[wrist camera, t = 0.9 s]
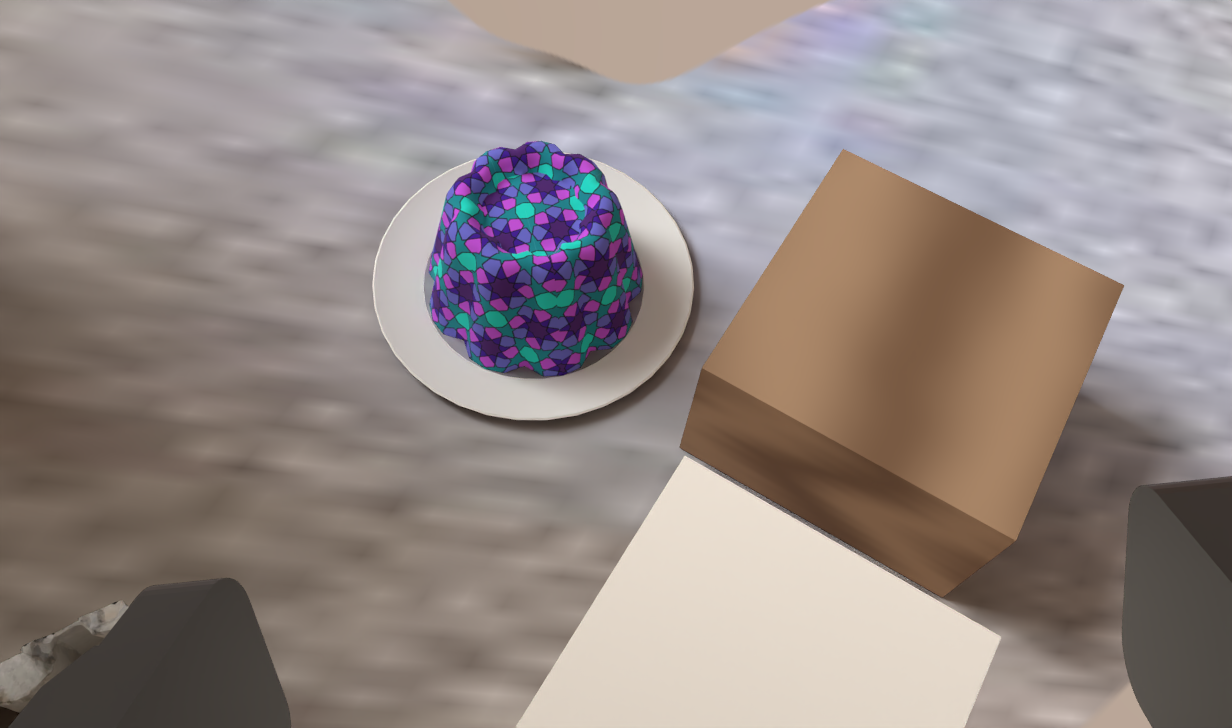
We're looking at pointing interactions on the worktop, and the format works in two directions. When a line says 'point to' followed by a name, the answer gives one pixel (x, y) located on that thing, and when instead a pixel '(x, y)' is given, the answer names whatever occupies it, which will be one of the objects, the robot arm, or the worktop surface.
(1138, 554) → the robot arm
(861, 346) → the brown square block
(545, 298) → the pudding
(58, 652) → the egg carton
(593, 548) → the worktop surface
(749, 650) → the milk carton
